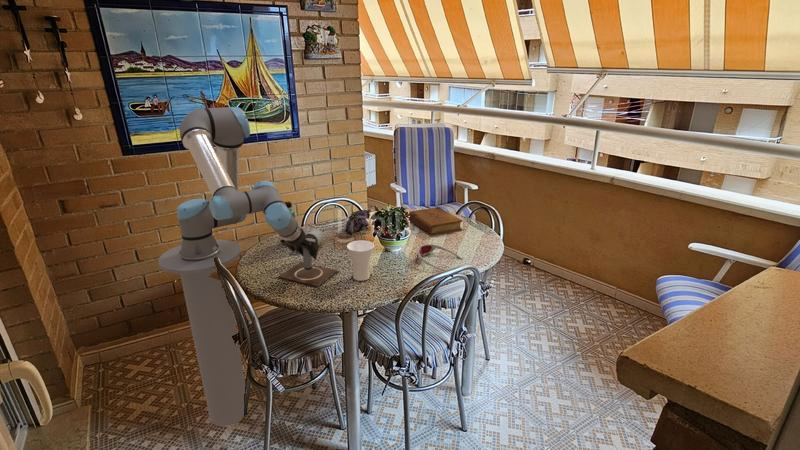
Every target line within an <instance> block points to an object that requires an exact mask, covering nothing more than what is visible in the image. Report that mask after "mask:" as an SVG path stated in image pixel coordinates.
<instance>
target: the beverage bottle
mask: <svg viewBox="0 0 800 450" xmlns="http://www.w3.org/2000/svg"><path fill="white" fill-rule="evenodd" d="M283 202H284V203H285V204H286V206H287V208H288V209H289V211H290V213H291V214H292V216H293V217H294V219H295V220H296V212H295V210H294V209H293V205H292V202H291V201H283Z"/></svg>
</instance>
